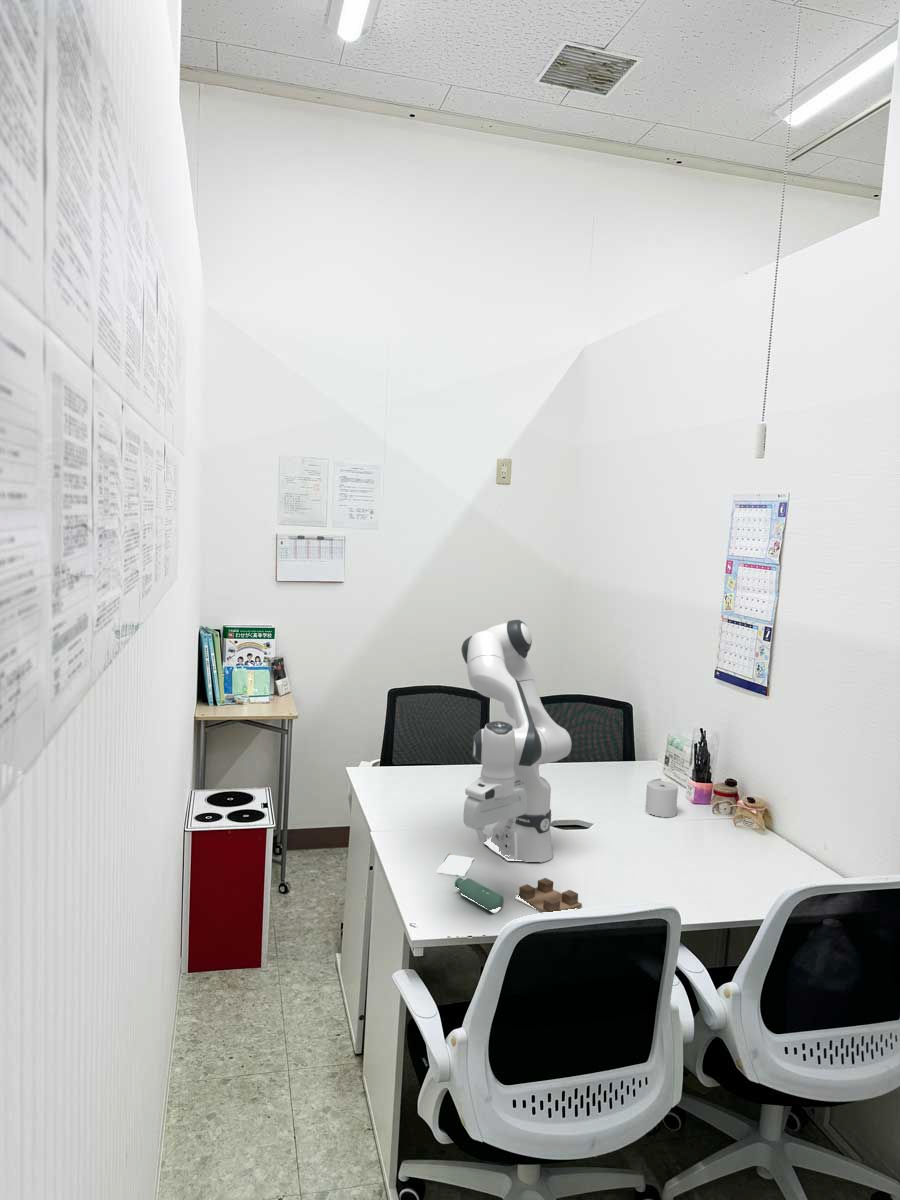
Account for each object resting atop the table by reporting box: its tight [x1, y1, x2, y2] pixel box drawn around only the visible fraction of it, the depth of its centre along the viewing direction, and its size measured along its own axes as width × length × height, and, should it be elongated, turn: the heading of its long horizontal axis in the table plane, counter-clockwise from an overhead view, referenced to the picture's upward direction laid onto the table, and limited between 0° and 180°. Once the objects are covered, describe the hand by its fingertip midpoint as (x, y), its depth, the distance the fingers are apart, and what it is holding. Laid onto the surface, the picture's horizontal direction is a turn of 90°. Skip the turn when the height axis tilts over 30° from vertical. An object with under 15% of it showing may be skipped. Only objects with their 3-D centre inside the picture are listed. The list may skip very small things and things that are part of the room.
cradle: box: [518, 877, 583, 913], centre depth 223 cm, size 14×11×4 cm
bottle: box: [453, 877, 504, 911], centre depth 223 cm, size 15×5×5 cm, turn 40°
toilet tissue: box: [645, 778, 679, 818], centre depth 296 cm, size 11×12×10 cm
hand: (495, 837), depth 218 cm, fingers open, 8 cm apart
